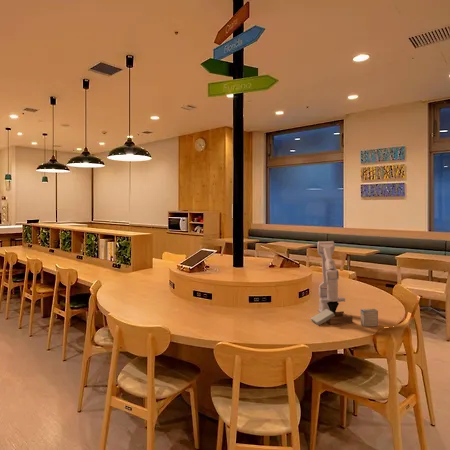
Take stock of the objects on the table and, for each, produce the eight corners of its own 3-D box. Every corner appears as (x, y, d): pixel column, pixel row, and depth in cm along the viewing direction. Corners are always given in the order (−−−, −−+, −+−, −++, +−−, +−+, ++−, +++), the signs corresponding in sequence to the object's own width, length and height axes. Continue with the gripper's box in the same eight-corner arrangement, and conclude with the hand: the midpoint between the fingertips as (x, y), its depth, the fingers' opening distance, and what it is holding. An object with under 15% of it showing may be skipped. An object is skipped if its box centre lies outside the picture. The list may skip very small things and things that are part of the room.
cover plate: (311, 321, 205) (310, 318, 205) (328, 311, 206) (326, 308, 206) (318, 325, 197) (316, 322, 196) (335, 315, 198) (333, 312, 198)
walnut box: (322, 319, 207) (322, 312, 207) (343, 318, 209) (343, 311, 209) (330, 325, 197) (330, 317, 197) (352, 323, 199) (352, 315, 199)
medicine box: (374, 324, 197) (374, 308, 197) (378, 326, 193) (378, 310, 192) (360, 324, 197) (360, 308, 196) (363, 327, 192) (363, 311, 192)
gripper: (323, 293, 197) (324, 317, 197) (347, 291, 199) (348, 315, 200) (318, 290, 204) (318, 314, 204) (341, 289, 206) (341, 312, 207)
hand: (332, 314), depth 202 cm, fingers closed
